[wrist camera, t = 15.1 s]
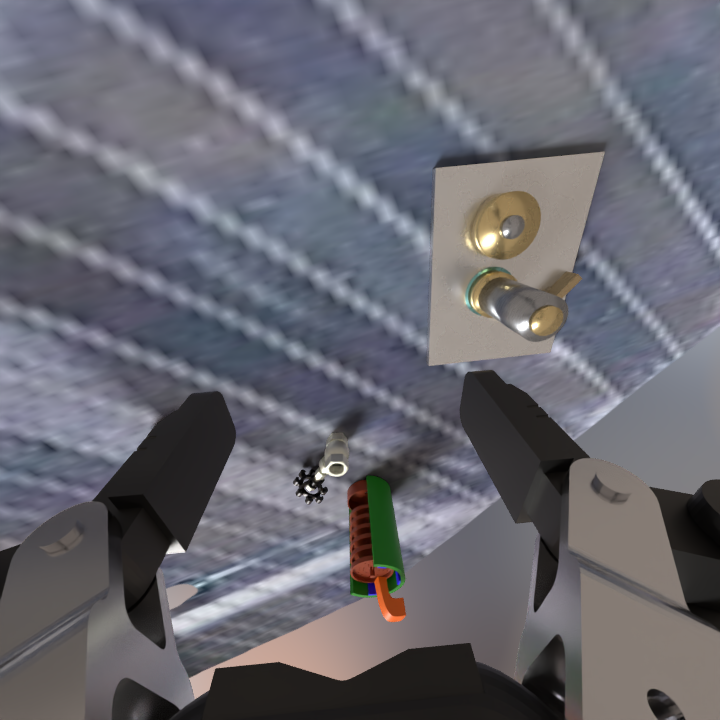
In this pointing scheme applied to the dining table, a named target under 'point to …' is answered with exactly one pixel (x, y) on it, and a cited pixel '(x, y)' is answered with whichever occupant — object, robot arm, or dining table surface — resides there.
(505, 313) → the silver and brass cylinder
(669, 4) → the dining table surface
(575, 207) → the carrier
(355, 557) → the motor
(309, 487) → the valve
